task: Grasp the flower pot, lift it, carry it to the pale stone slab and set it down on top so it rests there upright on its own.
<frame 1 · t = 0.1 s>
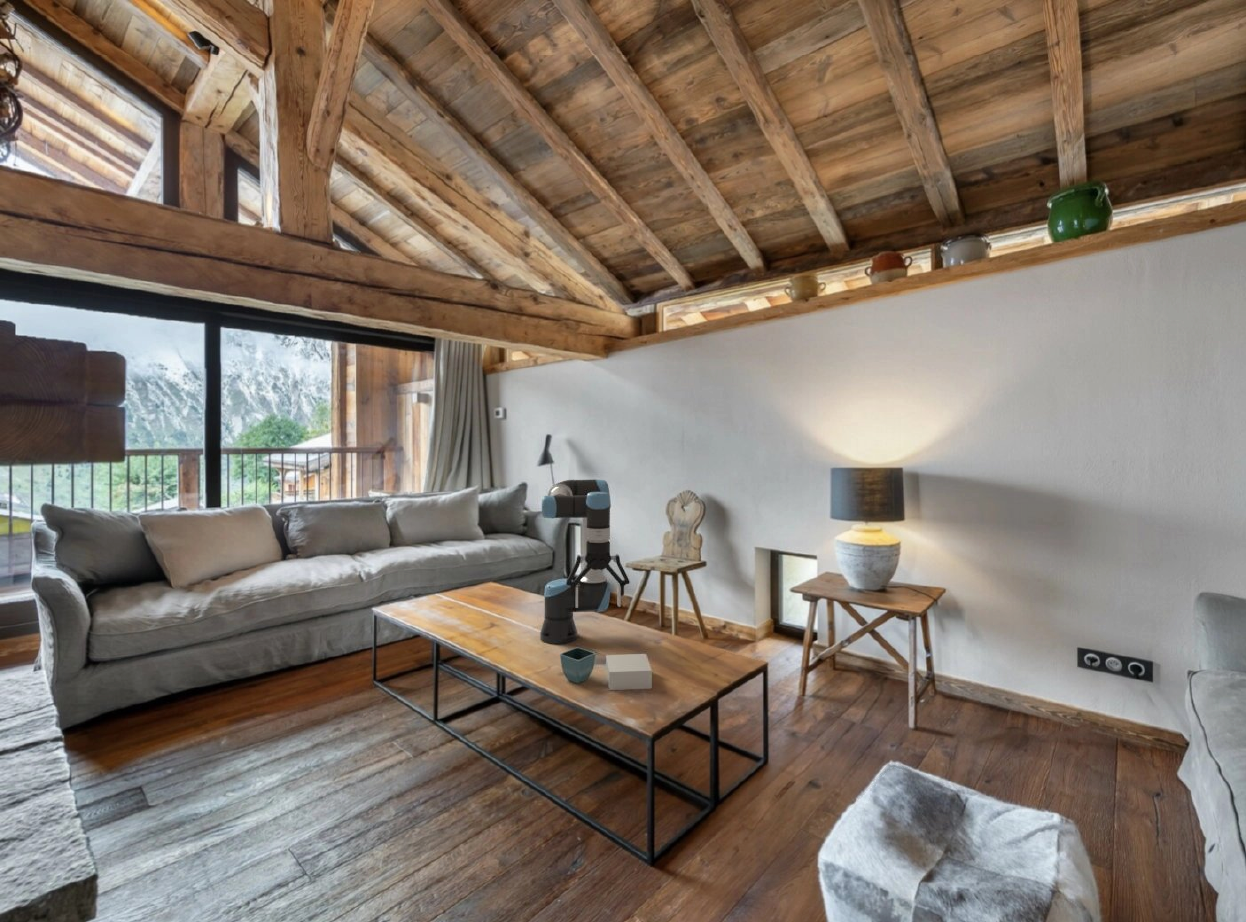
hand: (597, 606, 178), 28 cm above the table, fingers open, 13 cm apart
flower pot: (577, 680, 188), on the table
stone slab: (628, 680, 188), on the table
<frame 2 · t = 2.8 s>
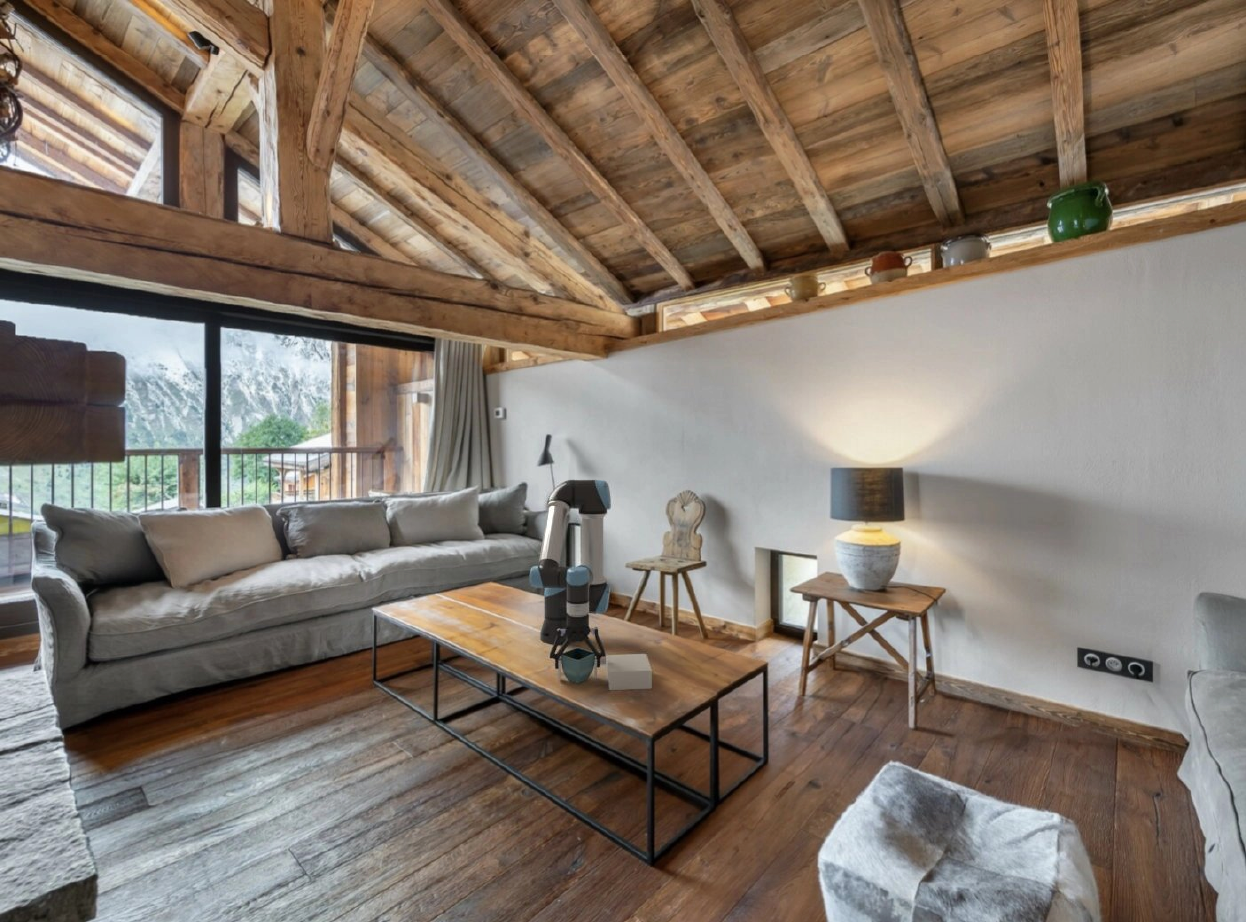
hand: (577, 677, 188), 1 cm above the table, fingers closed on flower pot, 11 cm apart
flower pot: (577, 680, 188), on the table, touching gripper
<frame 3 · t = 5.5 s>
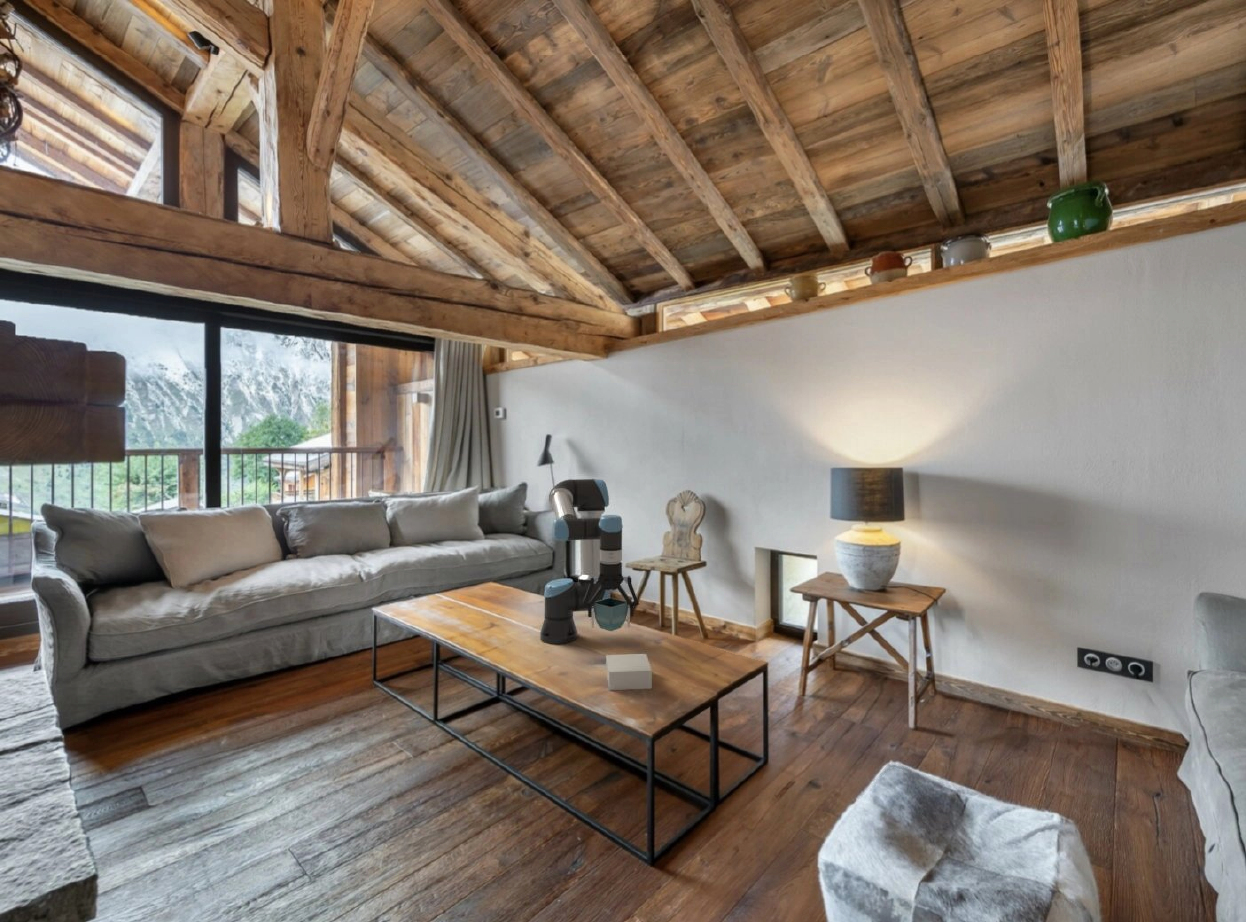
hand: (610, 626, 186), 19 cm above the table, fingers closed on flower pot, 11 cm apart
flower pot: (610, 629, 187), point 18 cm above the table, touching gripper
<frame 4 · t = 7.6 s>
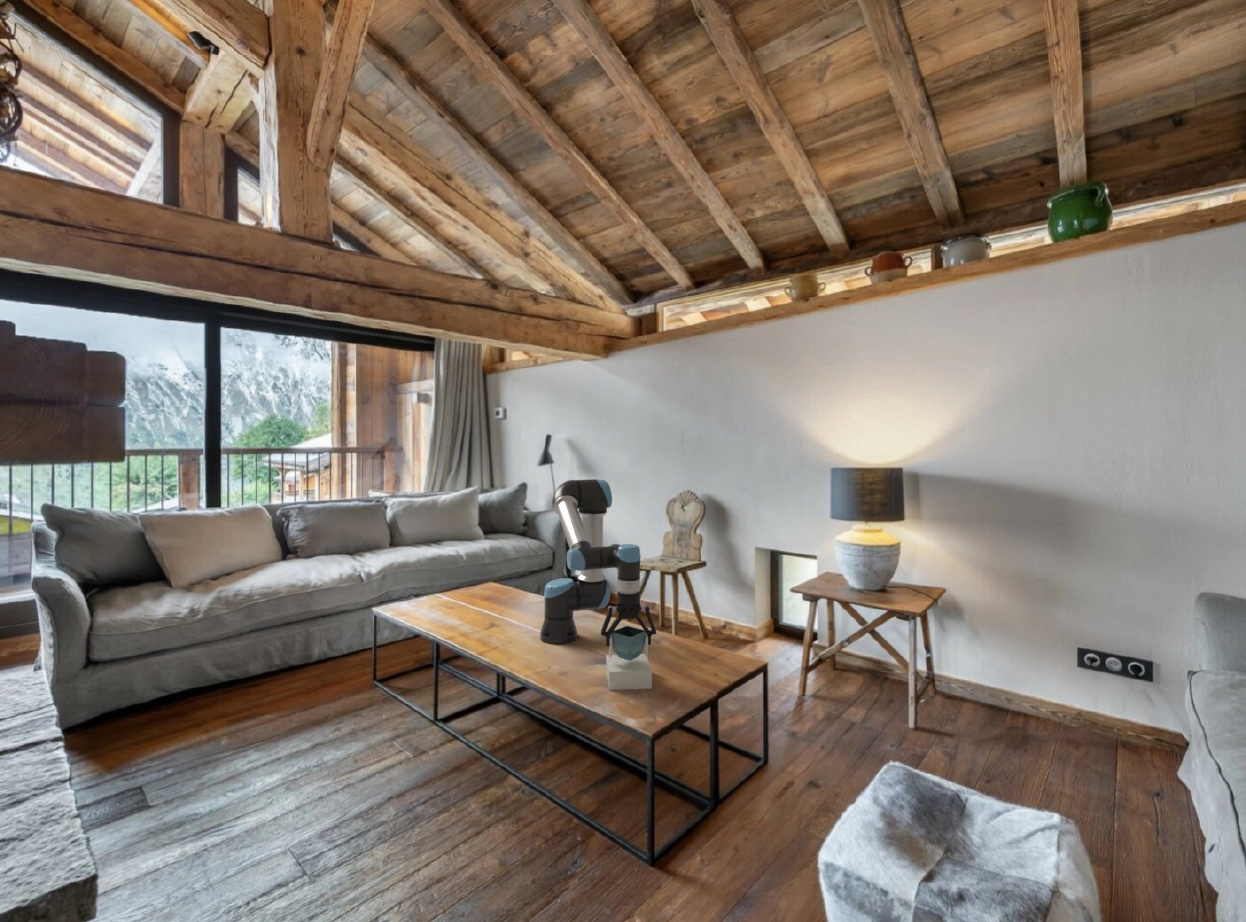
hand: (628, 655, 187), 9 cm above the table, fingers closed on flower pot, 11 cm apart
flower pot: (628, 657, 187), point 8 cm above the table, touching gripper
when the fingers open (8 cm above the table, at t = 8.3 s): flower pot drops 1 cm, resting on stone slab.
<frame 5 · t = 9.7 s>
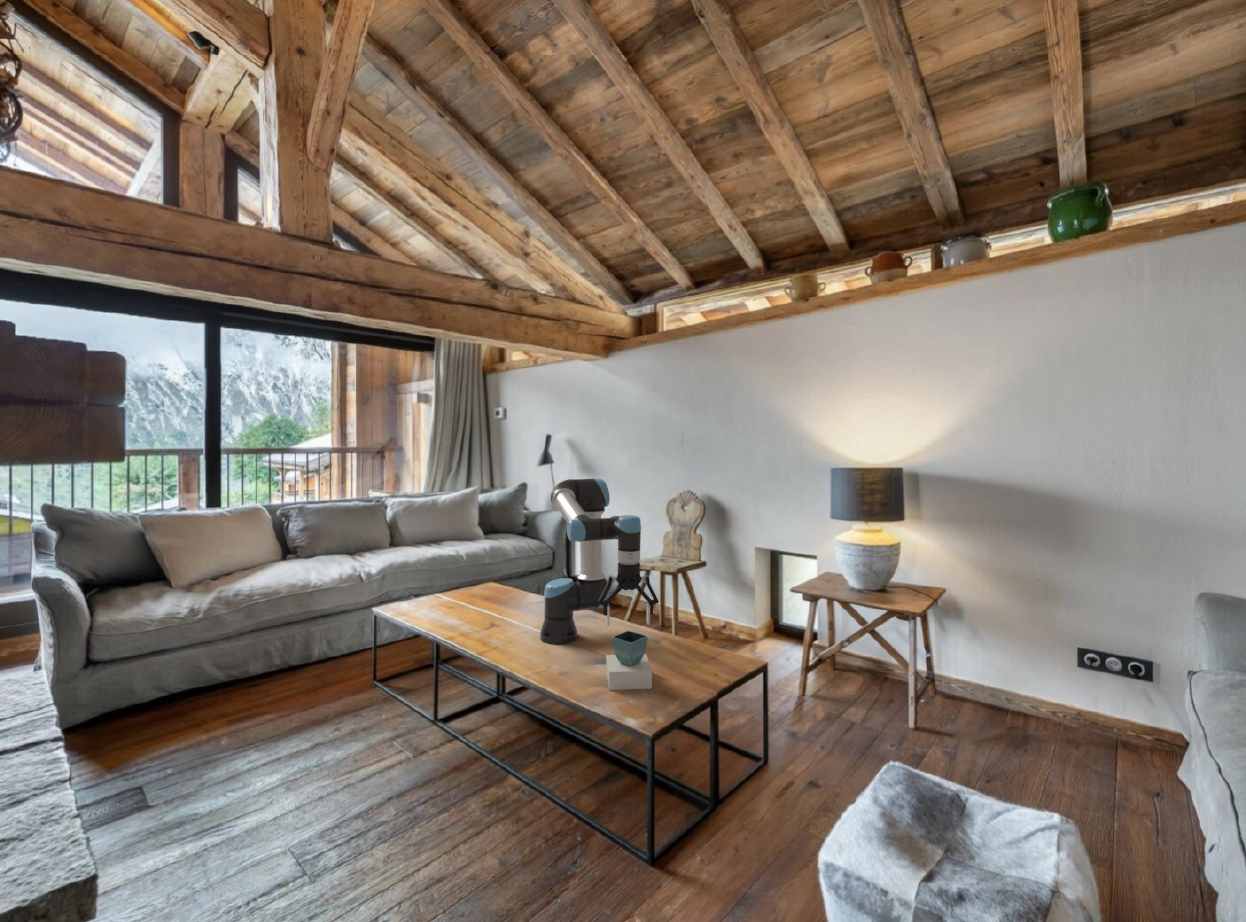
hand: (628, 624, 187), 19 cm above the table, fingers open, 13 cm apart
flower pot: (629, 663, 188), point 6 cm above the table, touching stone slab
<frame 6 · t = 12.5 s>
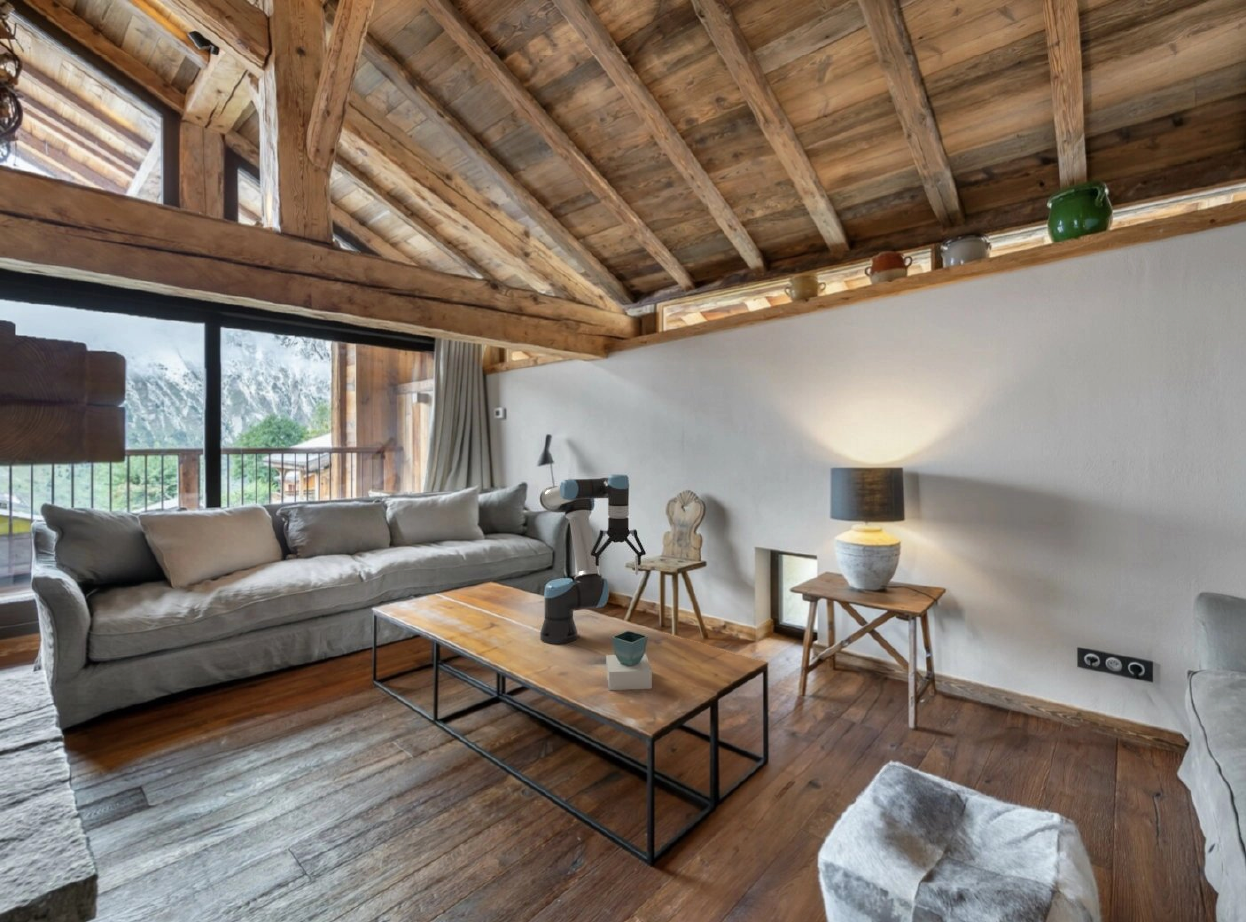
hand: (618, 574, 204), 32 cm above the table, fingers open, 13 cm apart
nothing on the table moved.
at the end: flower pot inside the target area on the stone slab (0.5 cm from its centre), point 5.8 cm above the stone slab's base; flower pot tilted 0°; the gripper is holding nothing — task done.
